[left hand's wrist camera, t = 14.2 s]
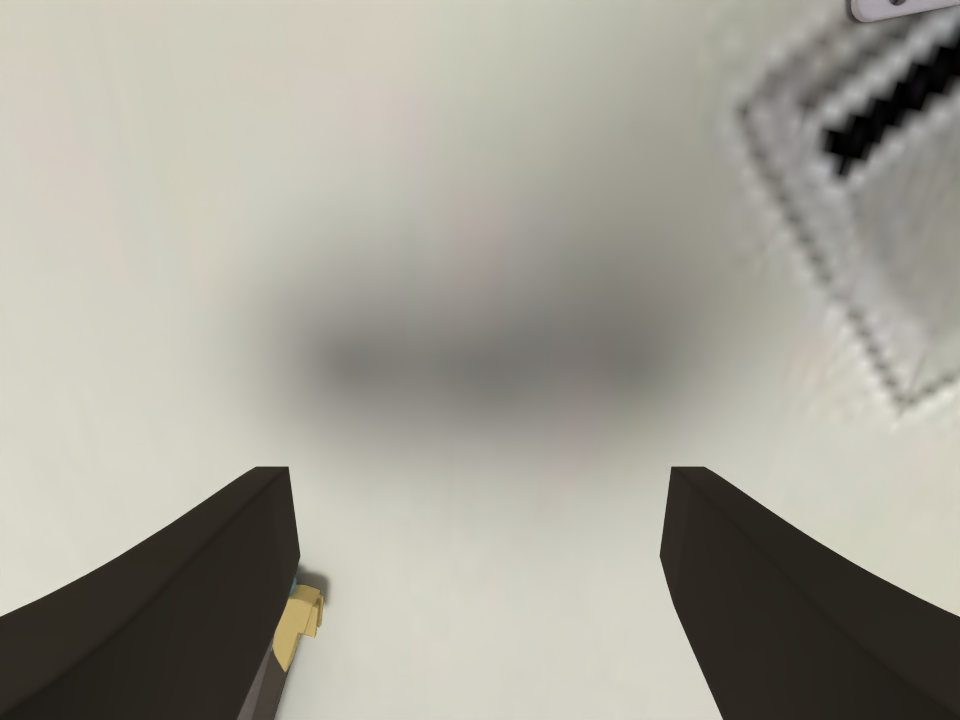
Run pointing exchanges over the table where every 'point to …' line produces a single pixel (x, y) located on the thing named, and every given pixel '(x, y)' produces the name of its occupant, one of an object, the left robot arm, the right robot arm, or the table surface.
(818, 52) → the table surface
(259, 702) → the toy gun
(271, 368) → the table surface
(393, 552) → the table surface
